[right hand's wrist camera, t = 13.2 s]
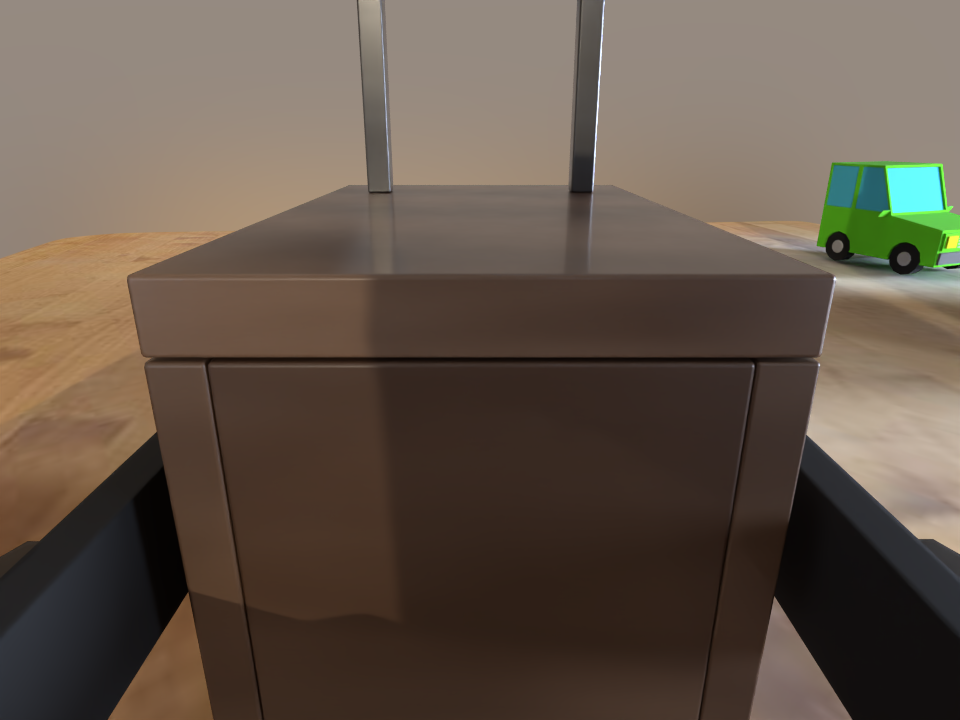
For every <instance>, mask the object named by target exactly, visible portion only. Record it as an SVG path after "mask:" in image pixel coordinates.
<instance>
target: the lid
mask: <svg viewBox="0 0 960 720" xmlns="http://www.w3.org/2000/svg"><path fill="white" fill-rule="evenodd" d="M604 5H605V0H577V18H576V39H575V60H574V82H573V103H572V124H571V146H570V167H569V185H393V174H392V152H391V130H390V108H389V87H388V65H387V43H386V21H385V0H357V10H358V27H359V44H360V60H361V77H362V95H363V111H364V128H365V145H366V162H367V179H368V185H349V186H346V187H344V188H341V189H339V190H336V191H334V192H331V193H329V194H326V195H324V196H322V197H319V198H317V199H314V200H312V201H309V202H307V203H304V204H302V205H299V206H297V207H295V208H292V209H290V210H287V211H285V212H282V213H280V214H277V215H275V216H272V217H270V218H267V219H265V220H263V221H260V222H258V223H255V224H253V225H250V226H248V227H245V228H243V229H240V230H238V231H236V232H233V233H231V234H228V235H226V236H223V237H221V238H218V239H216V240H213V241H211V242H209V243H206V244H204V245H201V246H199V247H196V248H194V249H191V250H189V251H186V252H184V253H182V254H179V255H177V256H174V257H172V258H169V259H167V260H164V261H162V262H159V263H157V264H154V265H152V266H150V267H147V268H145V269H142V270H140V271H137V272H135V273H132V274H130V275H128V277H127V283H128V288H129V293H130V298H131V303H132V308H133V314H134V319H135V324H136V329H137V334H138V339H139V344H140V349H141V354H142V355H143V356H144V357H486V358H488V357H489V358H815V357H820V355H821V354H822V349H823V344H824V339H825V333H826V328H827V323H828V318H829V313H830V308H831V303H832V298H833V293H834V288H835V283H836V277H835V275H833V274H830V273H828V272H825V271H823V270H821V269H818V268H816V267H813V266H811V265H808V264H806V263H803V262H801V261H798V260H796V259H793V258H791V257H788V256H786V255H783V254H781V253H779V252H776V251H774V250H771V249H769V248H766V247H764V246H761V245H759V244H756V243H754V242H751V241H749V240H746V239H744V238H741V237H739V236H737V235H734V234H732V233H729V232H727V231H724V230H722V229H719V228H717V227H714V226H712V225H709V224H707V223H704V222H702V221H699V220H697V219H694V218H692V217H689V216H687V215H684V214H682V213H680V212H677V211H675V210H672V209H670V208H667V207H665V206H662V205H660V204H657V203H655V202H652V201H650V200H648V199H645V198H643V197H640V196H638V195H635V194H633V193H630V192H628V191H625V190H623V189H620V188H618V187H615V186H613V185H594V172H595V155H596V138H597V121H598V105H599V88H600V72H601V55H602V39H603V22H604Z"/></svg>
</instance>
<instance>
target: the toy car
mask: <svg viewBox="0 0 960 720" xmlns="http://www.w3.org/2000/svg"><path fill="white" fill-rule="evenodd" d="M952 207H953V206H949V207H947V200H946V192H945V183H944V174H943V166H942V164H932V163H910V162H889V161H882V162H840V163H832V166H831V172H830V177H829V182H828V188H827V193H826V198H825V204H824V209H823V215H822V220H821V225H820V231H819V236H818V242H817V246H820V247H826V252H827V254H828V256H829V257H830V258H831V259H833V260H844V259H849V258H850V257H852V256H853V255H854V253H856V254H861V255H866V256H872V257H877V258H882V259H889V262H890V266H891V267H892V269H893V271H895V272H897V273H899V274H911V273H916V272H918V271H919V270H921V269H922V268H923V267H924V266H927V267H933V268H934V267H944V268H946V269H956V268H960V215H957V214H953V213H950V212H949V211H950V210H951V208H952Z"/></svg>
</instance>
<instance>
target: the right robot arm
mask: <svg viewBox="0 0 960 720" xmlns="http://www.w3.org/2000/svg"><path fill="white" fill-rule="evenodd" d="M187 593H188V587H187V582H186V577H185V572H184V567H183V562H182V556H181V551H180V546H179V541H178V536H177V531H176V526H175V521H174V516H173V511H172V506H171V501H170V495H169V490H168V485H167V480H166V475H165V470H164V465H163V460H162V455H161V450H160V445H159V440H158V434H157V432H156V433H155V434H154V435H153V436H152V437H151V438H150V439H149V440H148V441H147V442H145V443H144V444H143V445H142V446H141V447H140V448H139V449H138V450H137V451H136V452H135V453H134V454H133V455H132V456H130V457H129V458H128V459H127V460H126V461H125V462H124V463H123V464H122V465H121V466H120V467H119V468H118V469H117V470H115V471H114V472H113V473H112V474H111V475H110V476H109V477H108V478H107V479H106V480H105V481H104V482H103V483H102V484H100V485H99V486H98V487H97V488H96V489H95V490H94V491H93V492H92V493H91V494H90V495H89V496H88V497H87V498H85V499H84V500H83V501H82V502H81V503H80V504H79V505H78V506H77V507H76V508H75V509H74V510H73V511H72V512H70V513H69V514H68V515H67V516H66V517H65V518H64V519H63V520H62V521H61V522H60V523H59V524H58V525H57V526H55V527H54V528H53V529H52V530H51V531H50V532H49V533H48V534H47V535H46V536H45V537H44V538H43V539H42V540H40V541H27V542H26V543H24V544H22V545H20V546H19V547H17V548H15V549H13V550H12V551H10V552H8V553H6V554H5V555H3V556H1V557H0V720H108V718H109V716H110V715H111V713H112V712H113V710H114V708H115V707H116V705H117V704H118V702H119V701H120V699H121V697H122V696H123V694H124V693H125V691H126V689H127V688H128V686H129V685H130V683H131V682H132V680H133V678H134V677H135V675H136V674H137V672H138V670H139V669H140V667H141V666H142V664H143V663H144V661H145V659H146V658H147V656H148V655H149V653H150V652H151V650H152V648H153V647H154V645H155V644H156V642H157V640H158V639H159V637H160V636H161V634H162V633H163V631H164V629H165V628H166V626H167V625H168V623H169V621H170V620H171V618H172V617H173V615H174V614H175V612H176V610H177V609H178V607H179V606H180V604H181V602H182V601H183V599H184V598H185V596H186V595H187ZM774 596H775V598H776V599H777V601H778V602H779V604H780V606H781V607H782V609H783V610H784V612H785V614H786V615H787V617H788V618H789V620H790V621H791V623H792V625H793V626H794V628H795V629H796V631H797V633H798V634H799V636H800V637H801V639H802V640H803V642H804V644H805V645H806V647H807V648H808V650H809V651H810V653H811V655H812V656H813V658H814V659H815V661H816V663H817V664H818V666H819V667H820V669H821V670H822V672H823V674H824V675H825V677H826V678H827V680H828V682H829V683H830V685H831V686H832V688H833V689H834V691H835V693H836V694H837V696H838V697H839V699H840V701H841V702H842V704H843V705H844V707H845V708H846V710H847V712H848V713H849V715H850V716H851V718H852V720H960V554H958V553H956V552H955V551H953V550H951V549H949V548H948V547H946V546H944V545H942V544H941V543H939V542H937V541H935V540H934V539H917V538H916V537H915V536H914V535H913V534H912V533H911V532H910V531H909V530H908V529H907V528H906V527H905V526H903V525H902V524H901V523H900V522H899V521H898V520H897V519H896V518H895V517H894V516H893V515H892V514H891V513H890V512H888V511H887V510H886V509H885V508H884V507H883V506H882V505H881V504H880V503H879V502H878V501H877V500H876V499H875V498H873V497H872V496H871V495H870V494H869V493H868V492H867V491H866V490H865V489H864V488H863V487H862V486H861V485H860V484H858V483H857V482H856V481H855V480H854V479H853V478H852V477H851V476H850V475H849V474H848V473H847V472H846V471H845V470H843V469H842V468H841V467H840V466H839V465H838V464H837V463H836V462H835V461H834V460H833V459H832V458H831V457H830V456H828V455H827V454H826V453H825V452H824V451H823V450H822V449H821V448H820V447H819V446H818V445H817V444H816V443H815V442H813V441H812V440H811V439H810V438H809V437H808V436H807V435H806V438H805V443H804V448H803V453H802V458H801V464H800V469H799V474H798V479H797V484H796V489H795V494H794V499H793V504H792V509H791V514H790V519H789V524H788V529H787V534H786V539H785V544H784V549H783V554H782V559H781V564H780V569H779V574H778V579H777V584H776V589H775V594H774Z"/></svg>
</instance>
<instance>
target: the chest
mask: <svg viewBox="0 0 960 720" xmlns="http://www.w3.org/2000/svg"><path fill="white" fill-rule="evenodd" d="M144 368H145V374H146V379H147V384H148V389H149V394H150V399H151V404H152V409H153V414H154V419H155V424H156V429H157V434H158V440H159V445H160V450H161V455H162V460H163V465H164V470H165V475H166V480H167V485H168V490H169V495H170V501H171V506H172V511H173V516H174V521H175V526H176V531H177V536H178V541H179V546H180V551H181V556H182V562H183V567H184V572H185V577H186V582H187V587H188V592H189V597H190V602H191V607H192V612H193V617H194V622H195V628H196V633H197V638H198V643H199V648H200V653H201V658H202V663H203V668H204V673H205V678H206V683H207V689H208V694H209V699H210V704H211V709H212V714H213V719H214V720H750V715H751V710H752V705H753V700H754V695H755V690H756V685H757V679H758V674H759V669H760V664H761V659H762V654H763V649H764V644H765V639H766V634H767V629H768V624H769V619H770V614H771V609H772V604H773V599H774V594H775V589H776V584H777V579H778V574H779V569H780V564H781V559H782V554H783V549H784V544H785V539H786V534H787V529H788V524H789V519H790V514H791V509H792V504H793V499H794V494H795V489H796V484H797V479H798V474H799V469H800V464H801V458H802V453H803V448H804V443H805V438H806V433H807V428H808V423H809V418H810V413H811V408H812V403H813V398H814V393H815V388H816V383H817V378H818V373H819V368H820V364H819V362H817V361H816V360H815V359H813V358H489V357H488V358H486V357H153V358H151V359H150V360H148V361H147V362H146V363H145V367H144Z"/></svg>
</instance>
